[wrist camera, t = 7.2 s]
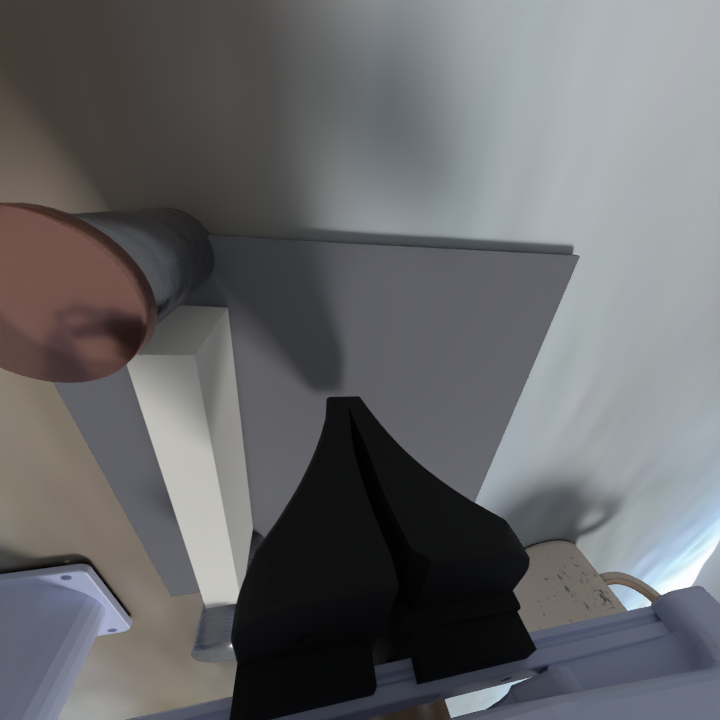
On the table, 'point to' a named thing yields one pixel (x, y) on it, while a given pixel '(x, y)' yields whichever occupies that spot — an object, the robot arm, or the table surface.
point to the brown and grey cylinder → (91, 285)
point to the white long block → (199, 442)
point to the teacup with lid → (568, 587)
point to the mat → (341, 367)
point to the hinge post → (219, 624)
